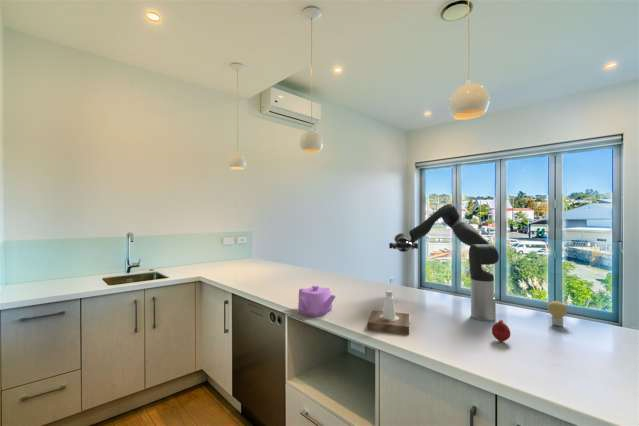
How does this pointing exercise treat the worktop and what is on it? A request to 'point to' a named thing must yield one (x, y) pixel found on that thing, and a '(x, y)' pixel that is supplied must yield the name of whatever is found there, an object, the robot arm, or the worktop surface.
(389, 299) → the pepper shaker
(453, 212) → the robot arm
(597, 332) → the worktop surface
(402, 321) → the walnut plinth
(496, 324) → the onion
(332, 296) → the teakettle
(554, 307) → the light bulb
